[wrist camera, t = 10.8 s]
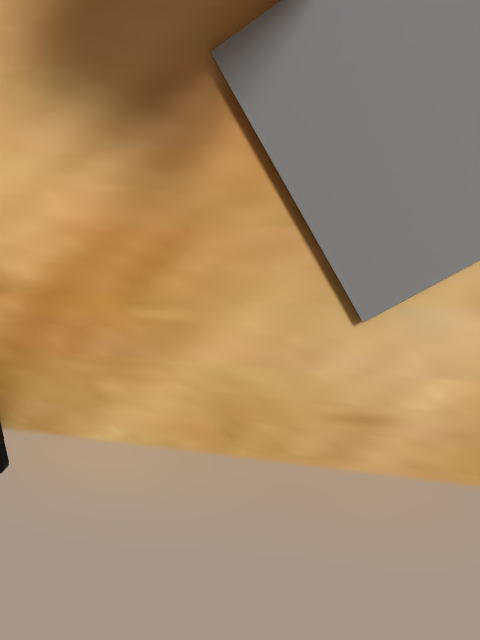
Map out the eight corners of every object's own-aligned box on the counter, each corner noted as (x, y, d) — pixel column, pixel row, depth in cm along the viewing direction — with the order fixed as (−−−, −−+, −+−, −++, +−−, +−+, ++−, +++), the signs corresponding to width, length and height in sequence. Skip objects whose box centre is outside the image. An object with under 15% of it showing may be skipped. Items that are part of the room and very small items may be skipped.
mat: (361, 319, 19) (362, 322, 19) (211, 54, 17) (210, 51, 16) (653, 163, 17) (662, 162, 16) (524, -173, 14) (531, -183, 14)
